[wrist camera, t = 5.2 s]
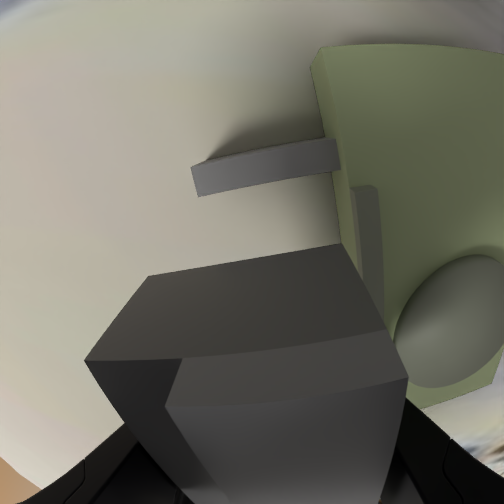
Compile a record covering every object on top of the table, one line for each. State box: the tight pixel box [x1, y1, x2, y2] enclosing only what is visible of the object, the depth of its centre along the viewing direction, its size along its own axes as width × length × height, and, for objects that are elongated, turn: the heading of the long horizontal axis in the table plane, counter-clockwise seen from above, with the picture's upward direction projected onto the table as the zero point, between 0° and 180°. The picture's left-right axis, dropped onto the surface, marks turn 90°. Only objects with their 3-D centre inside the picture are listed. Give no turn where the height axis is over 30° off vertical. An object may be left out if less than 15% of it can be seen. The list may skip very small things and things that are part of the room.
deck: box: [191, 44, 504, 409], centre depth 13 cm, size 18×14×4 cm
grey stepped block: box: [84, 243, 409, 504], centre depth 7 cm, size 7×5×4 cm
